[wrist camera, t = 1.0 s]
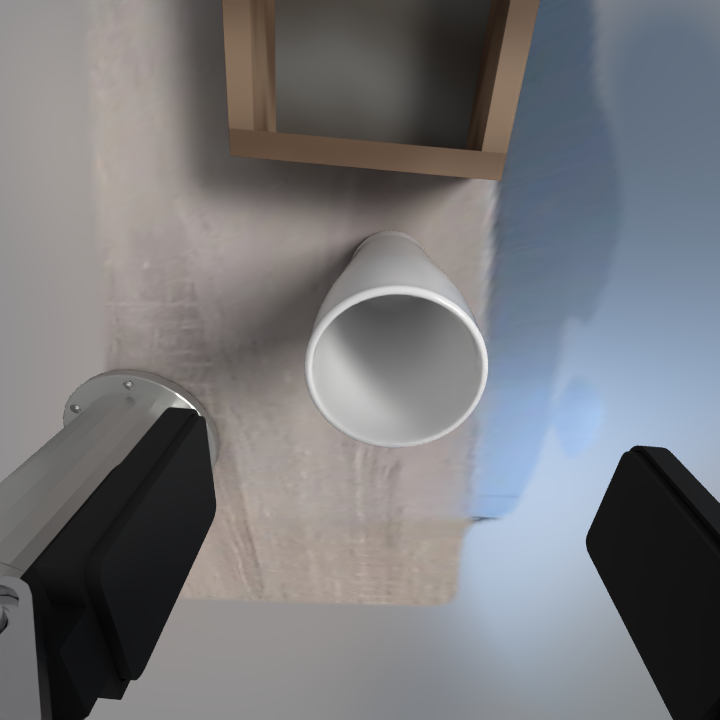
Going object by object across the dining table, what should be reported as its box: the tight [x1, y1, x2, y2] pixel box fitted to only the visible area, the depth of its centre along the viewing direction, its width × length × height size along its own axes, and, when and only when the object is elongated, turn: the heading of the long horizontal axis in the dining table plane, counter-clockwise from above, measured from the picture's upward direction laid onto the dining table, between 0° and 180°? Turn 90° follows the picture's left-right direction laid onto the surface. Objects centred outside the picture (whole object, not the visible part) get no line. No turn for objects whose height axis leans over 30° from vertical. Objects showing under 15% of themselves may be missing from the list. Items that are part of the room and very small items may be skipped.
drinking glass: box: [304, 231, 488, 448], centre depth 22 cm, size 7×7×15 cm
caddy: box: [222, 0, 540, 181], centre depth 20 cm, size 13×13×6 cm
